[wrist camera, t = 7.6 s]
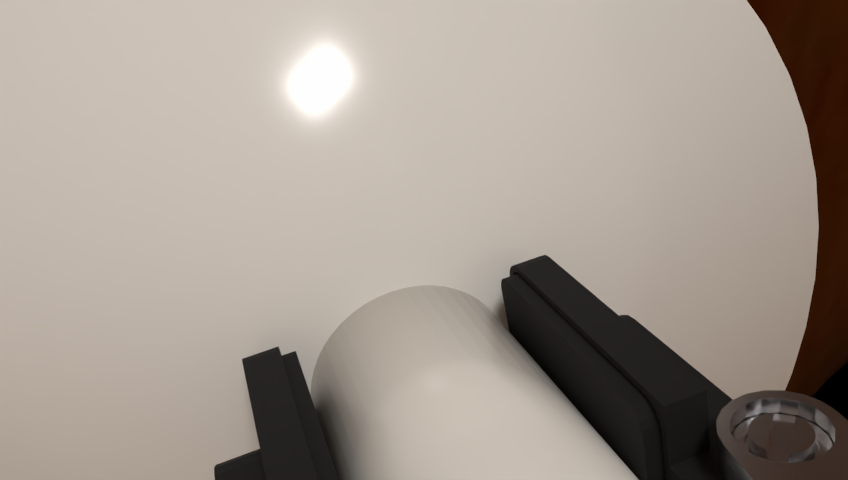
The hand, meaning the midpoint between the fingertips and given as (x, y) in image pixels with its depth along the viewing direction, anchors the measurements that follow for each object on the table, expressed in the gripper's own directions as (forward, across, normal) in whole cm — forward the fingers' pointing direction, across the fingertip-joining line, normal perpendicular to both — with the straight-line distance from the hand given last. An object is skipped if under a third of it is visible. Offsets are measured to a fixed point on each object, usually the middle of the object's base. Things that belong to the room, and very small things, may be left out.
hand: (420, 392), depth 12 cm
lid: (+1, 0, 0) cm, 1 cm away
